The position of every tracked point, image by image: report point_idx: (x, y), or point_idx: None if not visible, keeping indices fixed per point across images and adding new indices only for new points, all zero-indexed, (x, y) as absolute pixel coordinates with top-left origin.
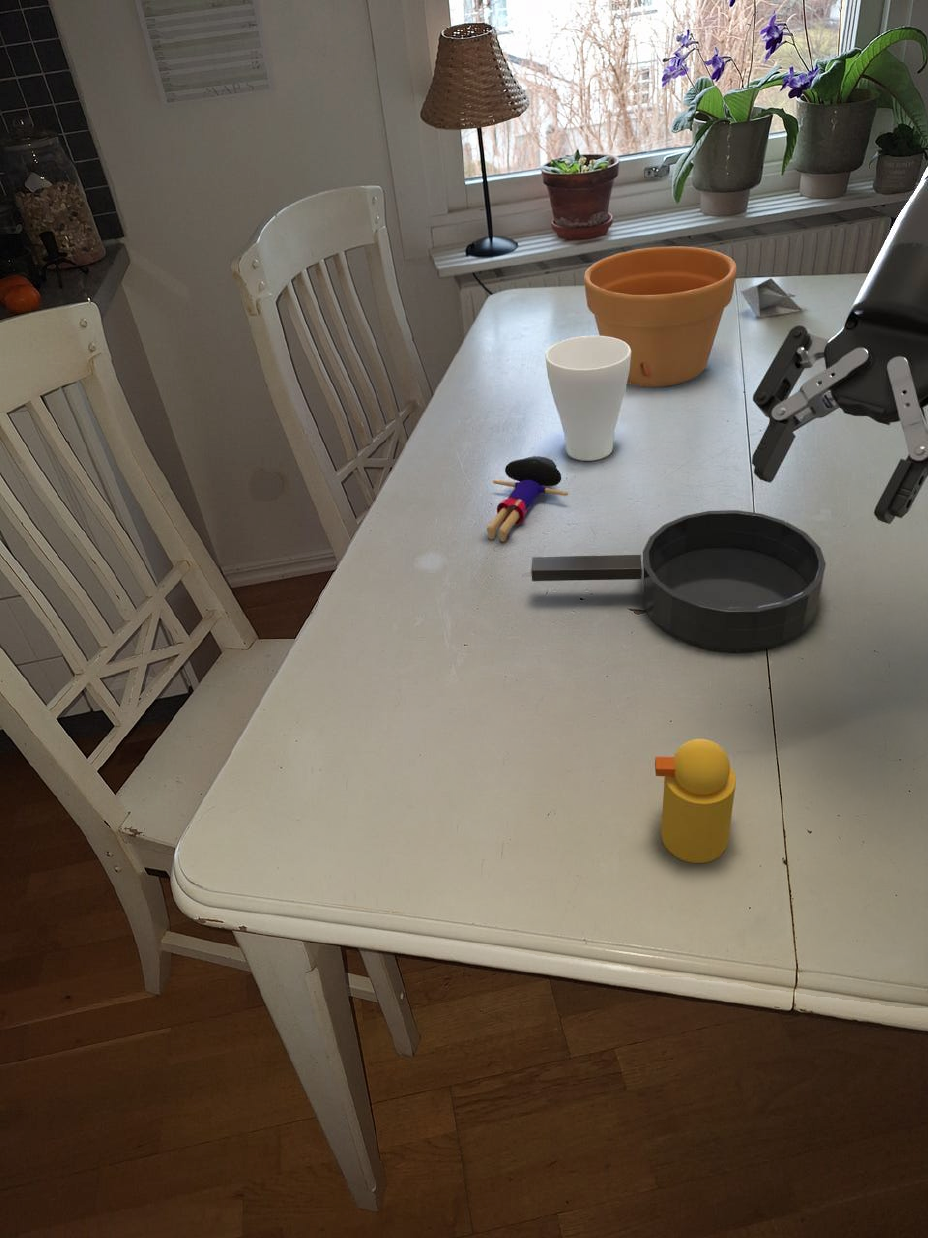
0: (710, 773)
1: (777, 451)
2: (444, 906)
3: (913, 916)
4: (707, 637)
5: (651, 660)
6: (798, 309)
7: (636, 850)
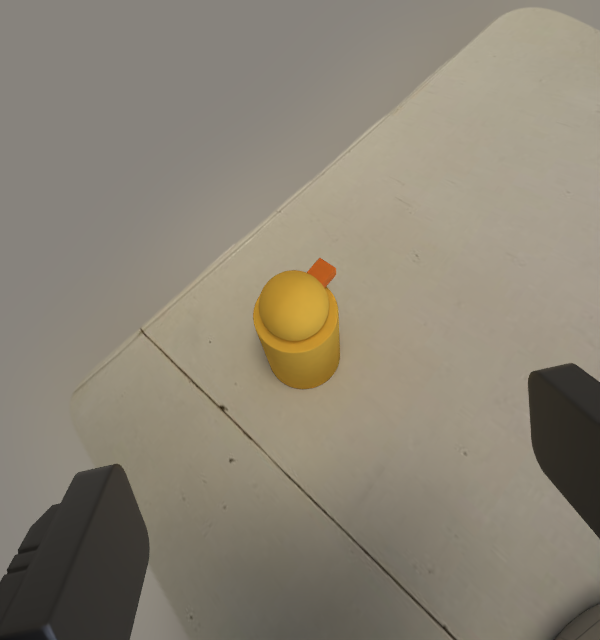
0: (265, 287)
1: (588, 451)
2: (378, 141)
3: (98, 462)
4: (586, 619)
5: None
6: None
7: None
